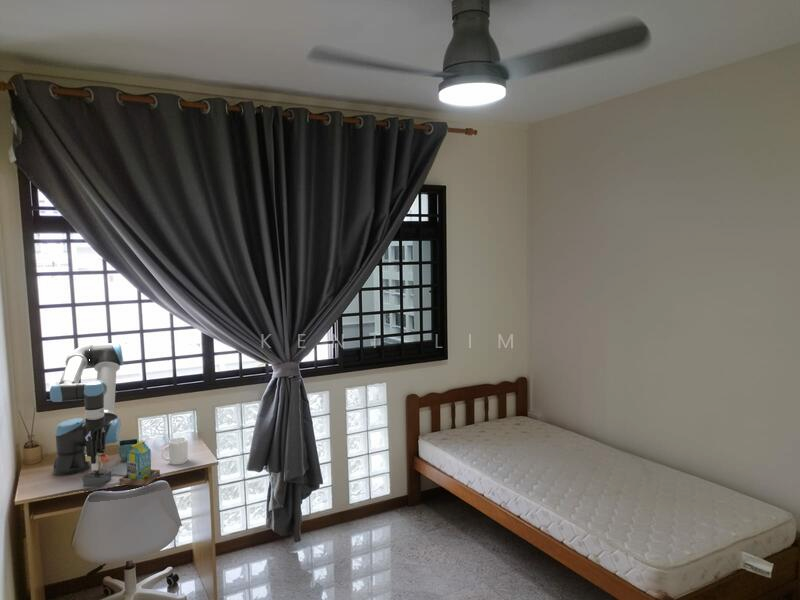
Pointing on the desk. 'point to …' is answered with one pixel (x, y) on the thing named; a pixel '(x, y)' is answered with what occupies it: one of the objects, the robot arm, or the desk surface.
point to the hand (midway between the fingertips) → (96, 468)
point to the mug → (177, 451)
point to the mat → (120, 470)
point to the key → (100, 459)
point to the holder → (143, 482)
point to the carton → (139, 461)
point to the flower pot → (125, 447)
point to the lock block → (97, 478)
